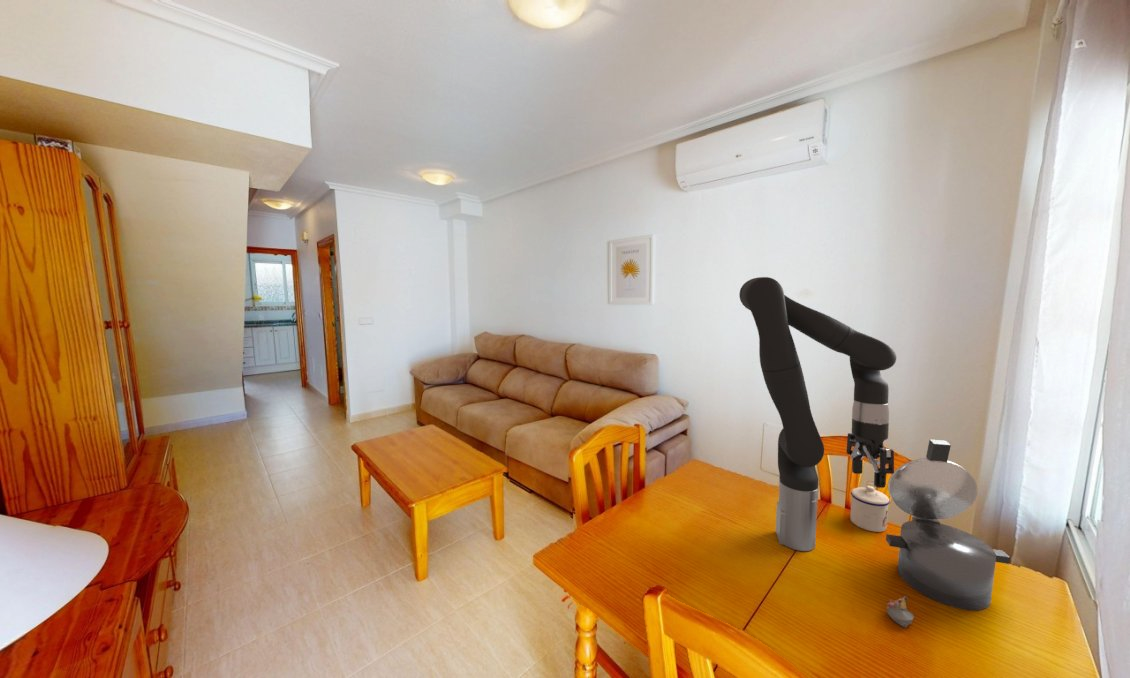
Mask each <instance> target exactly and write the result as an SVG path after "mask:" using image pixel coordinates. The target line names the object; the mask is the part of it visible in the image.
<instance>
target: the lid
mask: <svg viewBox="0 0 1130 678" xmlns="http://www.w3.org/2000/svg"><path fill="white" fill-rule="evenodd" d="M951 446H952V445H951V444H950V443H949V442H948V441H947V440H942V439H929V442H928V446H927V451H926V456H925V458H918V459H914V460H910V461H907V462H905V463H904V464H902V465H900V466H899V467H898V468H897V469H895V470H894V473H893V474H891V475H890V478H889V479H888V484H887V489H888V494H889V496H890V498H891V500H892V501H893V502H894V504H895V505H896V506H897V507H898V508H899V509H900V510H902V511H903V512H904V513H906V514H908V515H911V516H915V517H919V518H923V519H937V520H945V519H949V518H953V517H956V516H958V515H961V514H962V513H964V512H965V511H968V509H969V508H970V507H972V505H973V504H974V502H975V500H976V498H977V497H978V496H977V495H978V486H977V482H976V480H975V478H974V477H973V476H972V475H971V474H970V473H969V472H968V471H967V469H965V468H964V467H963V466H962V465H960V464H958V463H956V462H953V461H951V460H949V454H950V450H951Z"/></svg>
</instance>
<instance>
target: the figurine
mask: <svg viewBox="0 0 1130 678" xmlns="http://www.w3.org/2000/svg"><path fill="white" fill-rule="evenodd" d="M908 599H909V598H908V596H907V595H904V596H903V598H902V597H900V598H899V599H896V600H892V599H890V602H887V604H886V605H887V606H886V611H887V615H888V616H889V617H890V618H891V619H892V621H893V622H895V623H896V624H898V625H900V626H901V627H903V628H908V625H911V624H912V623H913V620H914V618H915V616H914V614H913V613H912V612H911V611H909V610H908V609H907V608H908V606H907V603H906V602H908ZM899 601H901V602H899Z"/></svg>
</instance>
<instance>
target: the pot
mask: <svg viewBox="0 0 1130 678" xmlns="http://www.w3.org/2000/svg"><path fill="white" fill-rule="evenodd" d="M911 516H912V515H911ZM911 518H912V519H911V520H908V521H906V522H904V523H902V524H901V526H900V535H895V534H888V533H886V535H885V541H886V542H887V544H888V546H890V547H893V548H899V550H898V559H897V561H898V562H897V571H898V574H899V577H900V578H902V580H903V582H904V583H905V584H907V585H908V586H909V587H911V588H912V589H913V590H915V591H916V592H917V593H919V594H921V595H923V596H925V597H926V598H929V599H930V600H933V601H935V602H938V603H939V604H942V605H945V606H948V607H952V608H954V609H960V610H964V611H966V610H967V611H983V610H986V609H987V608H989V607H991V602H992V595H993V587H994V579H995V578H994V577H995V570H996V563H1000V564H1001V563H1002V564H1006V565H1007V564H1009V565H1010V564H1011V556H1009V555H1008V554H1007V553H1006V552H1005V551H1004V550H1001V549H995V548H994V549H993V548H992V547H991V546H990V545H988V544H987V543H986V542H985V541H983V540H982V539H980V538H979V537H976V536H975V535H973V534H971V533H969V532H967V531H964V530H962V529H960V528H957V527H954V526H950V525H947V524H945V523H944V524H943V523H941V522H940V521H939V519H923V518H919V517H915V516H912V517H911Z"/></svg>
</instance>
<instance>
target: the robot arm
mask: <svg viewBox="0 0 1130 678" xmlns="http://www.w3.org/2000/svg"><path fill="white" fill-rule="evenodd" d="M738 295H739V296H738V297H739V300H740V302H741V304H742V306H744V307H745V308H746V309H747V310H749V311H750V312H751V315H752V317H753V320H754V322H755V325H756V326H755V327H756V329H757V331H758V332H757V333H758V340H759V341H758V344H759V350H758V352H759V363H760V369H761V372H762V376H763V379H764V382H765V385H766V386H765V387H766V388H767V391H768V393H769V395H770V396H769V397H771V400H772V403H773V404H774V406H775V408H776V410H777V412H778V415H779V417H780V421H781V424H782V429H781V431H780V432H779V435H778V440H777V469H778V474H779V484H778V501H776V511H775V512H776V516H775V517H776V518H775V519H776V520H775V521H776V522H775V535H776V537H777V540H778V544H779V545H781V546H786V547H788V548H790V549H792V550H795V551H800V552H809V551H812V550H814V549H815V547H816V539H817V537H816V536H817V535H816V534H817V515H818V514H817V513H818V499H819V498H818V497H819V476H818V473H817V469H816V466H817V465H818V464H819V463H820V462H821V461H822V459H823V457H824V454H825V446H824V443H823V439H822V438H821V435H820V433H819V431H818V428H817V426H816V422H815V420H814V418H813V413H812V411H811V406H810V400H809V394H808V390H807V386H806V381H805V377H804V371H803V368H802V364H801V360H800V357H799V354H798V351H797V347H796V345H795V342H794V338H793V335H792V333H791V329H790V327H791V328H793V329H795V330H796V331H798V332H800V333H802V334H803V335H805V336H806V337H809V338H810V339H812V340H814V341H815V342H817V343H819V344H821V345H822V346H824V347H826V348H828V349H830V350H831V351H834V352H836V353H839V354H843V355H845V356H848V357H849V365H850V370H851V375H852V379H853V382H854V385H853V386H854V387H853V403H852V409H851V412H852V413H851V433H847V439H846V451H845V452H846V454H847V455H850V458H851V463H852V464H851V472H852V473H853V474H856V475H857V474H859V475H860V474H863V464H864V463H863V459H864V457H865V458H866V459H867V460H868V461H869V464H870V465H872V468H873V470H874V472H873V476H874V477H873V478H874V479H873V485H874V486H873V487H876V488H877V489H878V488H879V489H881V488H882V489H883V488H885V487H886V485H887V474H891V475H892V474H893V473H894V472H895V450H894V449H893V448H885V446H884V442H885V441H887V440H888V439H889V430H890V429H889V424H890V423H889V421H890V409H889V384H888V382H887V381H886V380H885V379H883V378H882V376H881V371H885V370H889V369H890V368H892V367H893V366H895V364H896V361H897V354H896V351H895V350H894V348H892V347H891V346H890V345H889V344H887V343H886V342H884V341H882V340H880V339H878V338H875V337H873V336H870V335H868V334H865V333H863V332H860V331H857V330H855V329H854V328H851V326H849V325H846V324H845V323H843V322H842V321H840V320H838V319H837V318H834V317H831V316H830V315H828V314H825V313H823V312H821V311H818V310H816V309H813V308H811V307H809V306H806V305H804V304H801V303H799V302H798V301H795V300H794V299H792V298H790V297H788V296H787V295H785V291H784V289H783V287H782V285H781V283H780V282H779V281H778V280H776V279H775V278H772V277H769V276H762V277H761V276H760V277H754V278H751V279H749V280H747V281H746V282H745V283H743V285H742V286H741V287H740V290H739V294H738ZM852 447H853V448H852ZM887 465H888V466H887Z"/></svg>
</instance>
